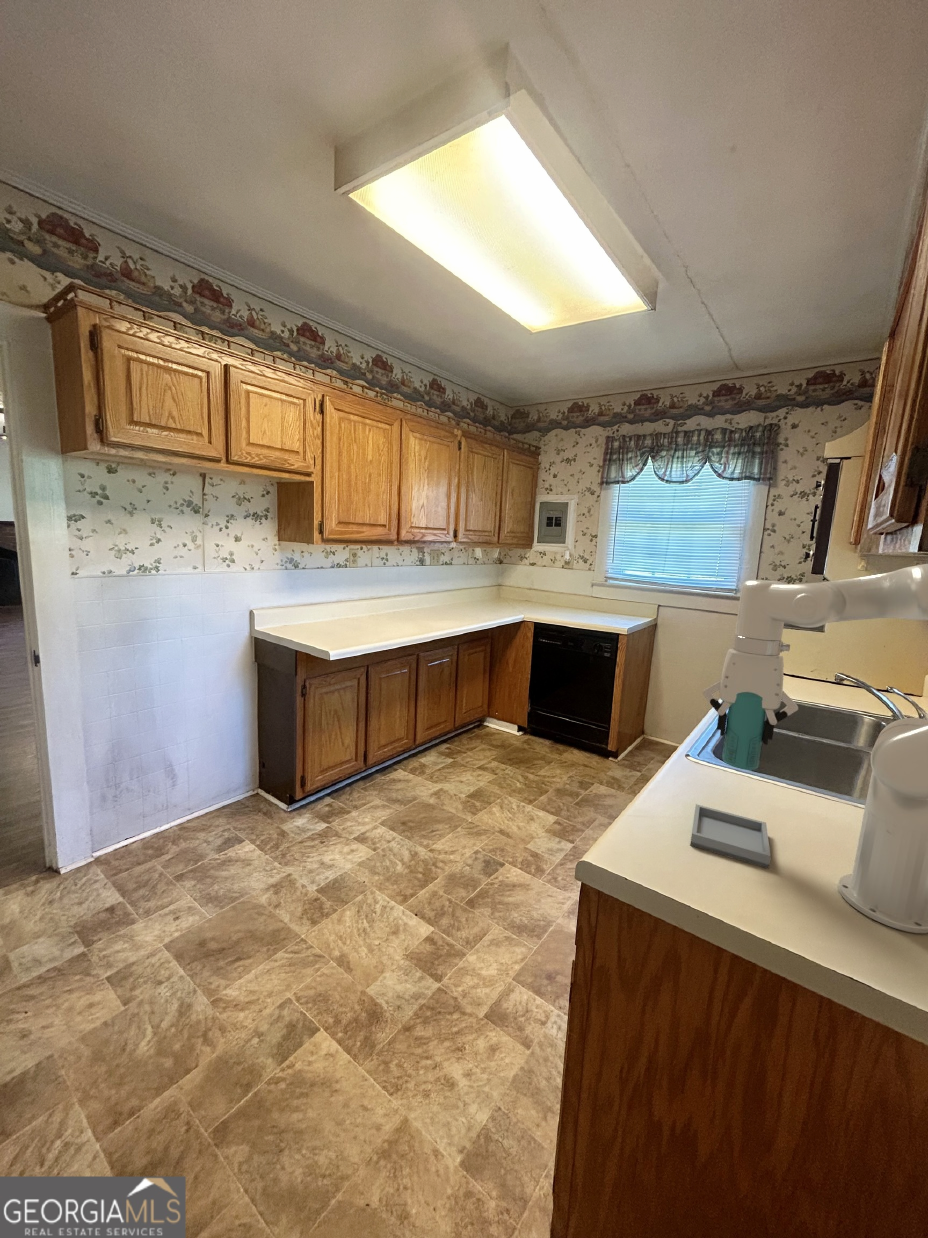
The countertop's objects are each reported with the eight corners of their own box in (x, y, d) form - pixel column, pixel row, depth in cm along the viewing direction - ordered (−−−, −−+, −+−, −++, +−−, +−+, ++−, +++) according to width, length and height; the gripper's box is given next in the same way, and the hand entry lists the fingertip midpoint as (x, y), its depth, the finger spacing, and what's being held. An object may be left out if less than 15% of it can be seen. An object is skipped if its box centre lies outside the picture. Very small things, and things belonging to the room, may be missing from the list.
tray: (764, 834, 101) (766, 822, 101) (768, 869, 90) (770, 856, 90) (694, 815, 107) (695, 804, 107) (690, 845, 96) (691, 833, 96)
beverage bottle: (763, 780, 93) (779, 675, 90) (725, 775, 94) (739, 672, 91) (750, 765, 99) (765, 667, 96) (715, 760, 100) (728, 664, 97)
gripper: (809, 650, 92) (794, 742, 95) (705, 637, 100) (694, 722, 103) (815, 657, 86) (799, 755, 88) (704, 643, 94) (692, 734, 96)
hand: (743, 737), depth 95 cm, fingers closed on beverage bottle, 6 cm apart
